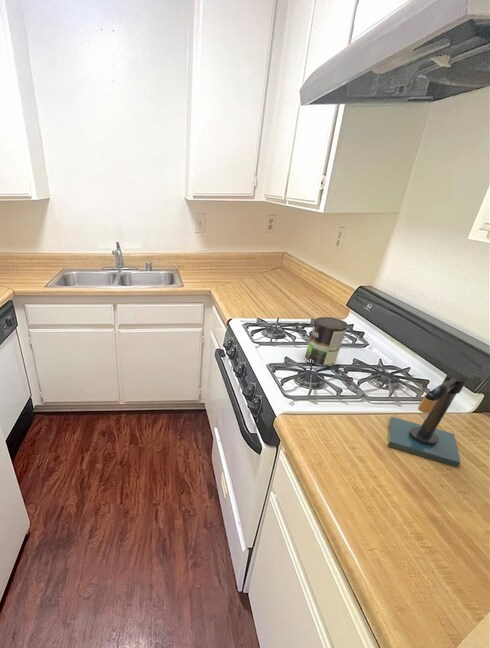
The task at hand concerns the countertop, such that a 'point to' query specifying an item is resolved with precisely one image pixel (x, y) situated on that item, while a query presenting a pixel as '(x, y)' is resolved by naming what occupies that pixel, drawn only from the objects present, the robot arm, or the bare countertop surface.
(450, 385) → the spout
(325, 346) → the coffee can
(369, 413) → the countertop surface
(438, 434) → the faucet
